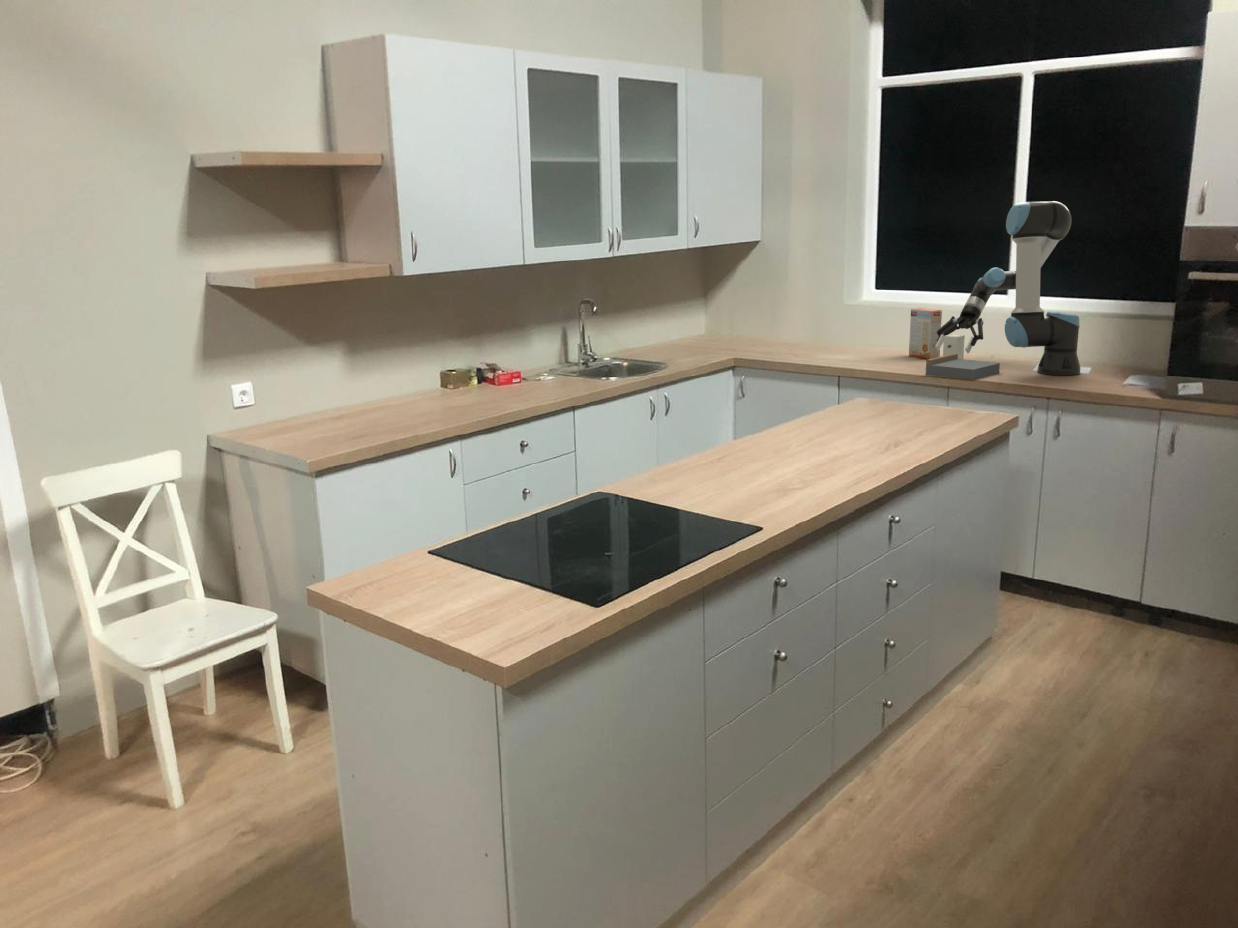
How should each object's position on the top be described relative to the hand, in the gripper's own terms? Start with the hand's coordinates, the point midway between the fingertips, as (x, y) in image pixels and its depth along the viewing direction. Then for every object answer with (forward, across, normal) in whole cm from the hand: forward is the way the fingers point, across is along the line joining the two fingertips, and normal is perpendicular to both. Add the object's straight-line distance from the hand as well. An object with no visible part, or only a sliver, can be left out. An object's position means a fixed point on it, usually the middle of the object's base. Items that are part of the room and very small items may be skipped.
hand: (951, 350), depth 405 cm
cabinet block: (+4, 0, -5) cm, 6 cm away
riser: (+17, -16, +9) cm, 25 cm away
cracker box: (-4, +20, -13) cm, 24 cm away
